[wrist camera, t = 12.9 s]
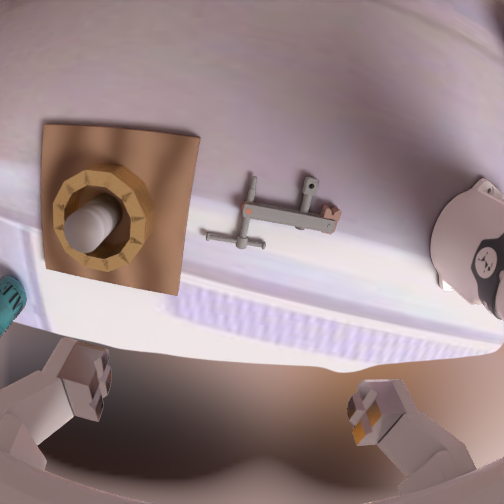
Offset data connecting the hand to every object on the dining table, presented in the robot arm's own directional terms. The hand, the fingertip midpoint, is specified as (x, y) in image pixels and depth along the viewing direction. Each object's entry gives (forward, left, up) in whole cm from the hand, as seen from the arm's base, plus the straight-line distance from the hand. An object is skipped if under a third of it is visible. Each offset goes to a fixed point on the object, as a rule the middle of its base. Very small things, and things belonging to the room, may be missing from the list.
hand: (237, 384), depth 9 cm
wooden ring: (+15, +6, -28) cm, 32 cm away
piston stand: (+15, +6, -29) cm, 33 cm away
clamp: (-5, +3, -30) cm, 30 cm away
